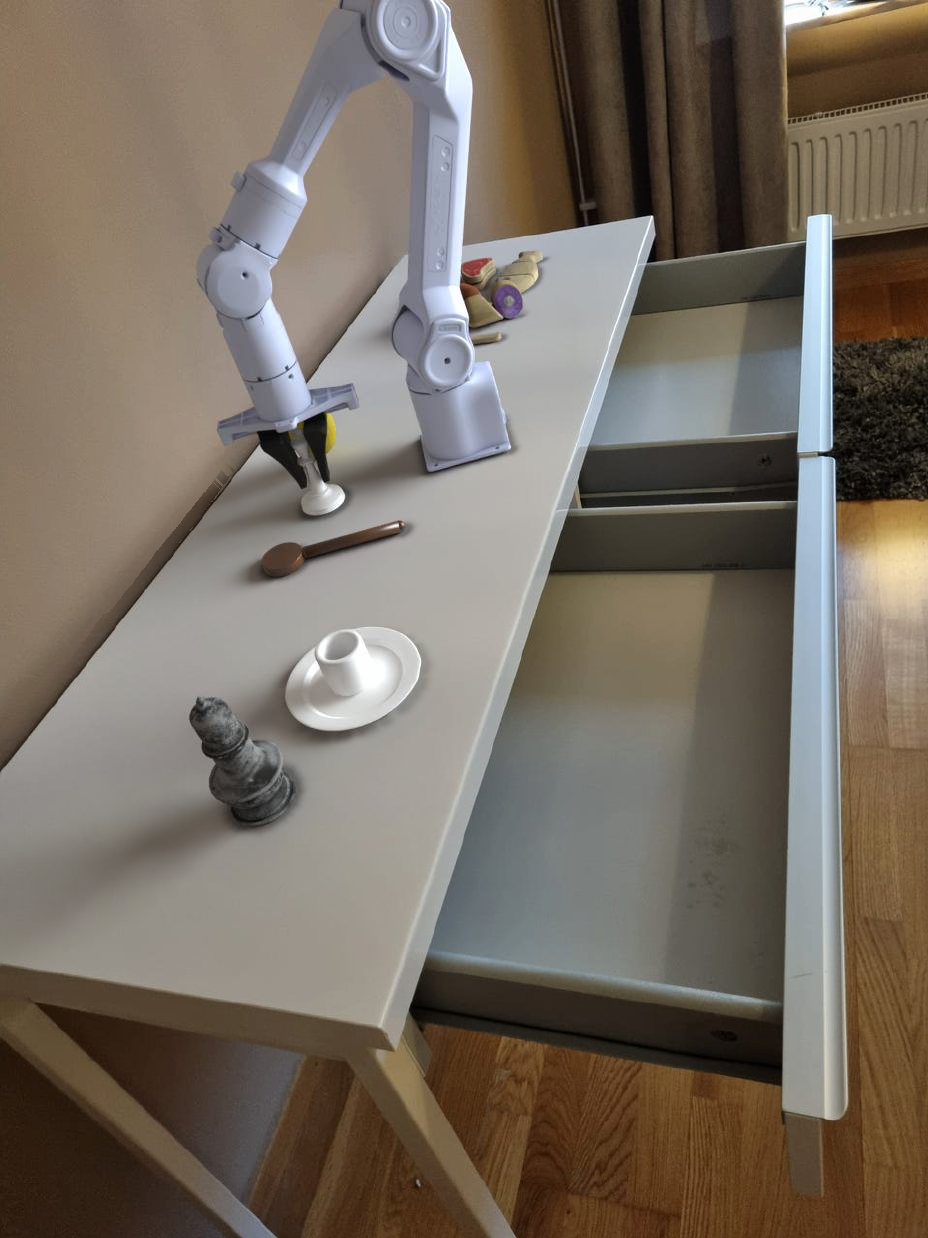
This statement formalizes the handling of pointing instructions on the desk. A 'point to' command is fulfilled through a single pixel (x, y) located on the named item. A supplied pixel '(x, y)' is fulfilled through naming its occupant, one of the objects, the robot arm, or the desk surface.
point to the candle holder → (352, 678)
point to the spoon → (320, 548)
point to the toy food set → (496, 290)
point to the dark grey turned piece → (241, 765)
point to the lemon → (330, 433)
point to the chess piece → (315, 481)
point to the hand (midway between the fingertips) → (315, 480)
